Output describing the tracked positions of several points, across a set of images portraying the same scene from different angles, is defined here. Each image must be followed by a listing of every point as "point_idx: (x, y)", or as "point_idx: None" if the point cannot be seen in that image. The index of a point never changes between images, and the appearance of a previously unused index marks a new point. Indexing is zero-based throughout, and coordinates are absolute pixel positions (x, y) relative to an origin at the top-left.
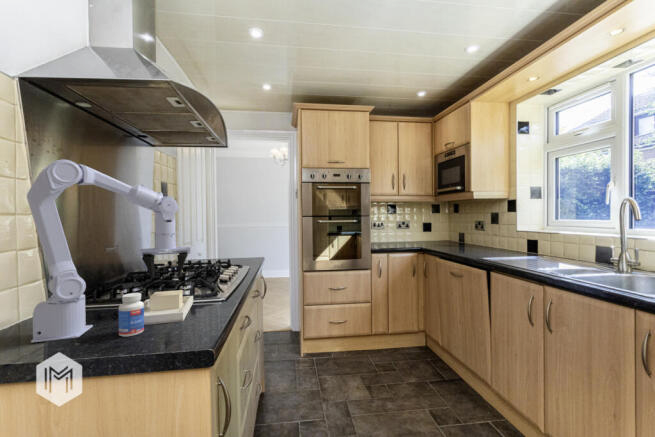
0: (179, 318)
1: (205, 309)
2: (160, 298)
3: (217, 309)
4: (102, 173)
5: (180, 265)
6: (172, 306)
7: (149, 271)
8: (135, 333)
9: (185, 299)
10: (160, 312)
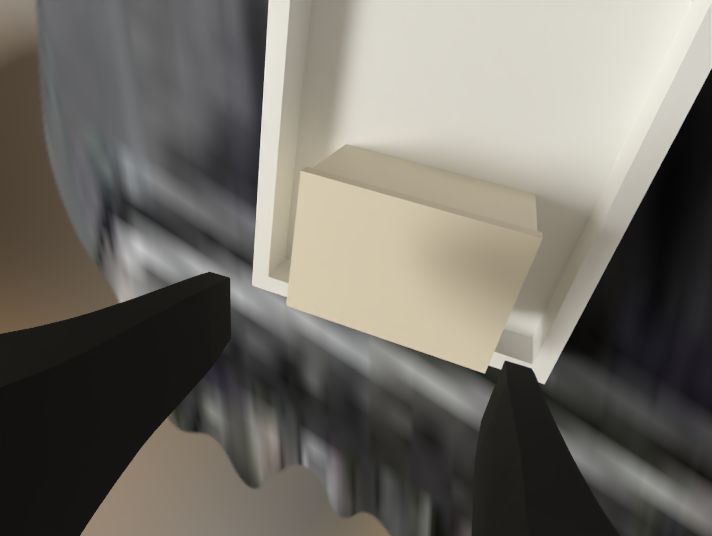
0: None
1: (193, 69)
2: (454, 207)
3: (122, 23)
4: None
5: (80, 325)
6: (382, 161)
7: (553, 438)
8: None
9: None
10: (470, 116)
